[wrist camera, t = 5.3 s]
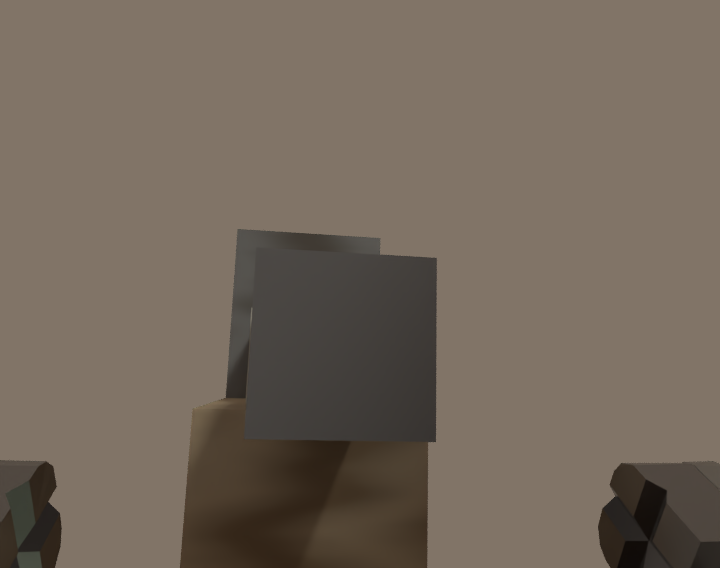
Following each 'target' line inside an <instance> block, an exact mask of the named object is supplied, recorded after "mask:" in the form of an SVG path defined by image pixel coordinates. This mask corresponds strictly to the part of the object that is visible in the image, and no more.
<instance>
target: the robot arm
mask: <svg viewBox="0 0 720 568" xmlns="http://www.w3.org/2000/svg"><path fill="white" fill-rule="evenodd" d="M610 486H611V488H612V490H613V492H614V494H615V497H614V498H613V499H612V500H611V501H610V502H609V503H608V504H607V505H606V506H605V507H604V508H603V509H602V513H601V517H600V521H599V525H598V529H599V539H600V546H601V549H602V551H603V554H604V557H605V559H606V561H607V563H608V564H609V566H610V568H720V464H719V463H716V462H713V461H708V462H682V463H621V464H620V465H619V466H618V467H617V469H616V470H615V471H614V473H613V476H612V479H611V483H610ZM56 487H57V486H56V480H55V474H54V468H53V466H52V465H50V464H49V463H48V462H46V461H5V460H0V568H55V565H56V561H57V557H58V553H59V549H60V543H61V529H62V528H61V520H60V513H59V512H58V511H57V510H56V509H55V508H54V507H53V506H52V505H51V504H50V503H49V502H48V501H49V499H50V497H51V496H52V493H53V492H54V490H55V489H56Z"/></svg>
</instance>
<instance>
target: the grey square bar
mask: <svg viewBox="0 0 720 568" xmlns="http://www.w3.org/2000/svg"><path fill="white" fill-rule="evenodd" d="M436 265H437V259H436V258H427V257H410V256H394V255H377V254H360V253H344V252H327V251H310V250H293V249H277V248H260V247H256V257H255V273H254V289H253V305H252V308H251V323H250V339H249V355H248V371H247V386H246V402H245V404H246V415H245V431H244V439H265V440H333V441H400V442H436V281H437V280H436V279H437V275H436V274H437V273H436V271H437V269H436V268H437V267H436Z"/></svg>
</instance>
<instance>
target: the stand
mask: <svg viewBox="0 0 720 568" xmlns="http://www.w3.org/2000/svg"><path fill="white" fill-rule="evenodd" d="M236 247H237V248H236V261H235V275H234V289H233V304H232V318H231V332H230V333H231V334H230V347H229V361H228V375H227V389H226V398H224V399H221V400H218V401H215V402H212V403H209V404H206V405H203V406H200V407H196V408H194V409H193V412H192V425H191V437H190V449H189V462H188V474H187V487H186V499H185V512H184V524H183V537H182V549H181V562H180V568H427V515H428V514H427V513H428V512H427V511H428V510H427V509H428V508H427V507H428V505H427V504H428V501H427V500H428V442H400V441H333V440H265V439H244V431H245V415H246V404H245V402H246V386H247V371H248V355H249V339H250V323H251V308H252V305H253V289H254V273H255V257H256V247H260V248H277V249H293V250H310V251H327V252H344V253H360V254H377V255H380V238H367V237H352V236H336V235H321V234H305V233H289V232H274V231H258V230H241V229H238V232H237V246H236Z"/></svg>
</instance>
